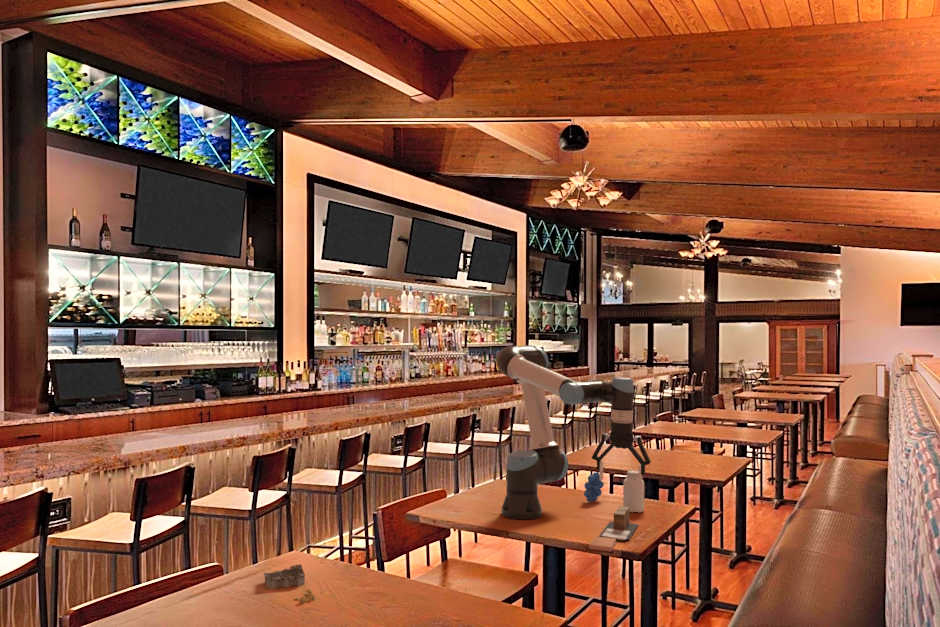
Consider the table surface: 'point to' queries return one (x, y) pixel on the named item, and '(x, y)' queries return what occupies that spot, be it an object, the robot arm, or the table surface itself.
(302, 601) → the olive irregular clump
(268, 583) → the grey textured block
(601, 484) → the grapes
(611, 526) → the mat
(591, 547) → the tile
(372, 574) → the table surface
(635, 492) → the pill bottle
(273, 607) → the table surface
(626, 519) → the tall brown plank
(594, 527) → the table surface
